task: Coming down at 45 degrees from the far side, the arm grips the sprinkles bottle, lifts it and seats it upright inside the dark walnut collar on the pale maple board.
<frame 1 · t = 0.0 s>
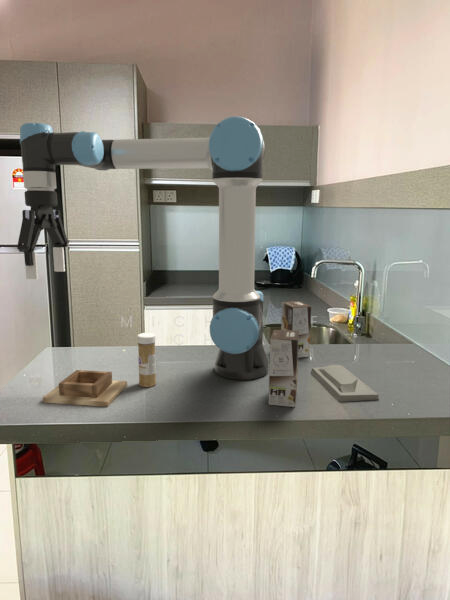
hand: (46, 275, 118), 28 cm above the countertop, tool pointing down, fingers open, 13 cm apart
coffee box: (283, 399, 111), on the countertop
socket board: (87, 393, 113), on the countertop
soap mold: (341, 388, 120), on the countertop
coffee box 2: (294, 354, 145), on the countertop
sprinkles bottle: (147, 385, 119), on the countertop
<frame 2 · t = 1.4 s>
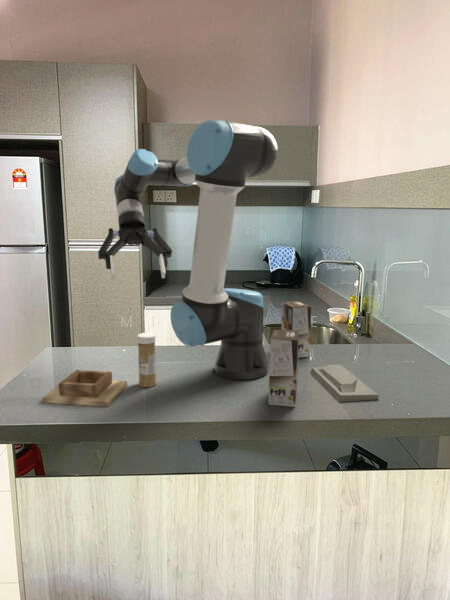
hand: (138, 276, 124), 27 cm above the countertop, tool tilted 45°, fingers open, 13 cm apart
nothing on the countertop moved.
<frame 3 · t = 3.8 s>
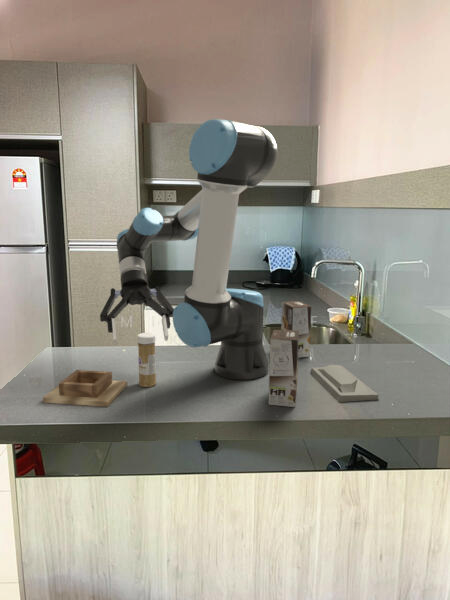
hand: (141, 340, 122), 10 cm above the countertop, tool tilted 45°, fingers open, 13 cm apart
nothing on the countertop moved.
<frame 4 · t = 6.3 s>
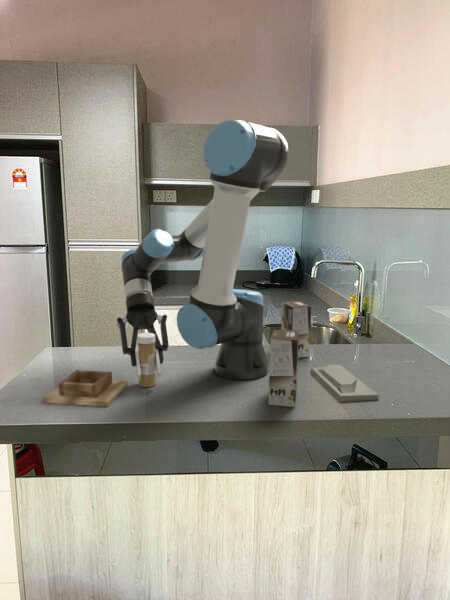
hand: (149, 375, 115), 4 cm above the countertop, tool tilted 45°, fingers closed on sprinkles bottle, 4 cm apart
sprinkles bottle: (147, 385, 119), on the countertop, touching gripper
everything else where it was.
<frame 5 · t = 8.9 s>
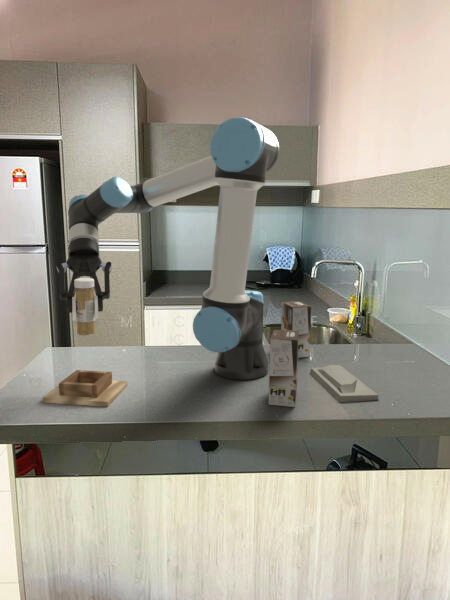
hand: (85, 322, 107), 19 cm above the countertop, tool tilted 45°, fingers closed on sprinkles bottle, 4 cm apart
sprinkles bottle: (86, 334, 112), point 15 cm above the countertop, touching gripper
everything else where it was.
when the fingers open (6 cm above the countertop, at t = 11.5 s): sprinkles bottle drops 1 cm, resting on socket board.
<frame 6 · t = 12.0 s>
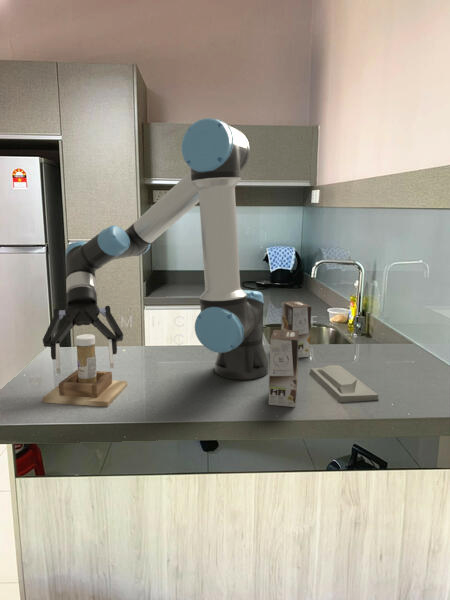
hand: (85, 368, 109), 8 cm above the countertop, tool tilted 45°, fingers open, 11 cm apart
sprinkles bottle: (88, 389, 113), point 1 cm above the countertop, touching socket board
everything else where it was.
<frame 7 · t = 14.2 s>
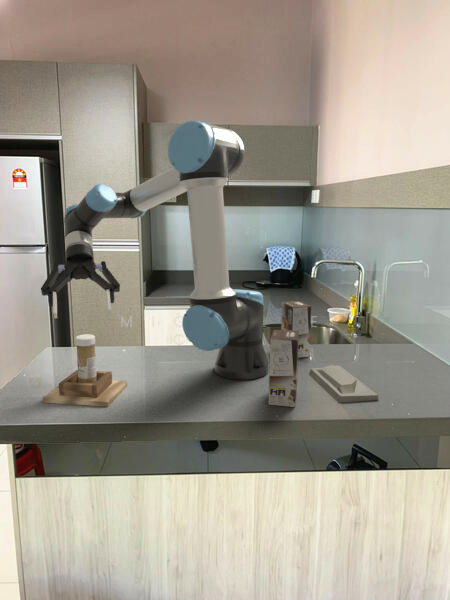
hand: (82, 314, 120), 18 cm above the countertop, tool tilted 45°, fingers open, 13 cm apart
nothing on the countertop moved.
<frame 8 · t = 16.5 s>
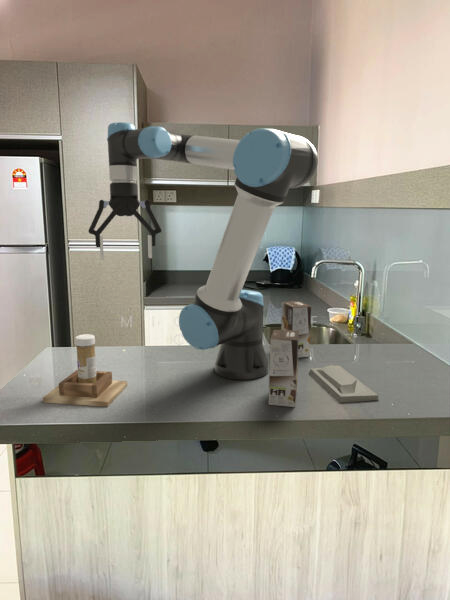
hand: (126, 258, 132), 31 cm above the countertop, tool pointing down, fingers open, 13 cm apart
nothing on the countertop moved.
at the end: sprinkles bottle 0.3 cm off-centre on the socket board, point 1.0 cm above the socket board's base; sprinkles bottle tilted 0°; the gripper is holding nothing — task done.
